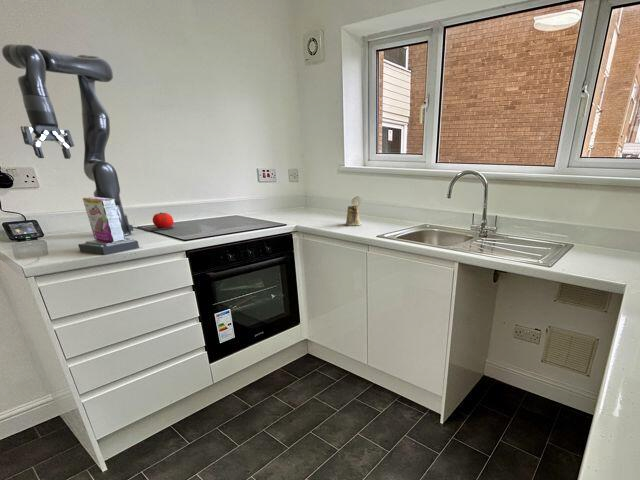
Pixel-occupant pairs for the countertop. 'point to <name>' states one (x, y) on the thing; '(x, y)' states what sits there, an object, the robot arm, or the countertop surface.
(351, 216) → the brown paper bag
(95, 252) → the scale
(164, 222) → the tomato
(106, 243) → the gray square plate
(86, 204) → the candy bar box
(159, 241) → the countertop surface
